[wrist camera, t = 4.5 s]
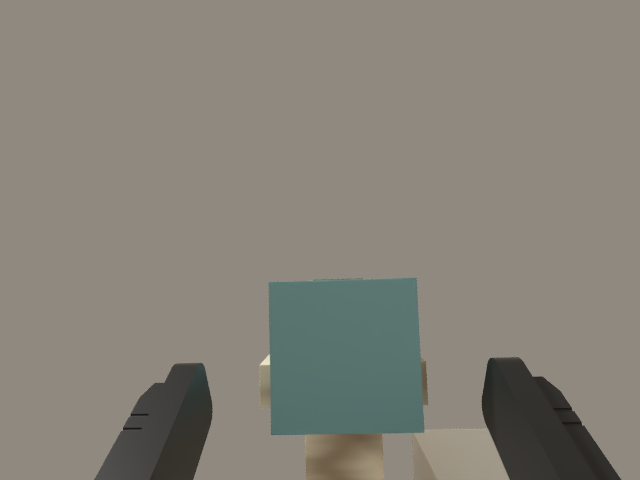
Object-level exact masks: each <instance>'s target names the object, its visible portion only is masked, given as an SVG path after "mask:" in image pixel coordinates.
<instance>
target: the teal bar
mask: <svg viewBox="0 0 640 480" xmlns="http://www.w3.org/2000/svg"><path fill="white" fill-rule="evenodd" d="M269 329H270V395H271V435H308V434H376V433H424V416H423V397H422V377H421V358H420V338H419V319H418V299H417V280H416V278H401V279H400V278H398V279H397V278H396V279H331V280H313V281H291V282H290V281H289V282H269Z"/></svg>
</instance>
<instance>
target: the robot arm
mask: <svg viewBox="0 0 640 480" xmlns="http://www.w3.org/2000/svg"><path fill="white" fill-rule="evenodd" d="M482 411H483V416H484V420H485V423H486V425H487V427H488V430H489V432H490V435H491V437H492V439H493V442H494V444H495V446H496V449H497V451H498V453H499V456H500V458H501V461H502V463H503V465H504V468H505V470H506V472H507V475H508V477H509V479H510V480H621V479H620V477H619V476H618V475H617V473H616V472H615V470H614V469H613V467H612V466H611V464H610V463H609V461H608V460H607V458H606V457H605V456H604V454H603V453H602V451H601V450H600V448H599V447H598V445H597V444H596V442H595V441H594V440H593V438H592V437H591V435H590V434H589V432H588V431H587V429H586V428H585V426H582V423H581V421H580V419H579V418H578V416H577V415H576V413H575V412H574V411H572V408H571V406H570V405H569V403H568V402H567V400H566V399H565V397H564V396H563V394H562V393H561V391H560V390H558V389H557V388H556V387H555V386H553V385H552V384H551V383H550V382H548V381H547V380H546V379H545V378H543V377H532V375H531V373H530V372H529V370H528V369H527V367H526V365H525V364H524V362H523V361H522V360H521V359H520V358H518V357H511V358H490V359H489V361H488V364H487V371H486V377H485V383H484V389H483V395H482ZM211 420H212V401H211V396H210V391H209V386H208V381H207V376H206V372H205V367H204V365H203V364H202V363H184V364H183V363H181V364H175V365H174V366H173V367H172V369H171V371H170V373H169V375H168V377H167V379H166V381H165V383H155V384H153V385H152V386H151V387H150V388H149V389H148V390H147V391H146V392H145V393H144V394H143V395H142V396H141V397H140V398H139V400H138V402H137V404H136V405H135V407H134V409H133V411H132V413H131V416H130V417H129V418H128V420H127V421H126V423H125V425H124V427H123V431H121V432H120V434H119V436H118V438H117V440H116V442H115V443H114V445H113V447H112V449H111V450H110V452H109V454H108V456H107V458H106V460H105V461H104V463H103V465H102V467H101V469H100V471H99V472H98V474H97V476H96V478H95V479H94V480H193V478H194V475H195V472H196V469H197V466H198V463H199V459H200V456H201V453H202V450H203V447H204V444H205V441H206V438H207V434H208V431H209V428H210V425H211Z"/></svg>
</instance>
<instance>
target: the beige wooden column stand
mask: <svg viewBox="0 0 640 480" xmlns="http://www.w3.org/2000/svg"><path fill="white" fill-rule="evenodd" d="M420 358H421V357H420ZM259 367H260V408H271V395H270V354H269V355H268V356H267V357H266V359H265V360H264V361H263V362H262V363H261V364H260V366H259ZM421 377H422V397H423V405H428V394H427V374H426V361H424V360H423V359H422V358H421ZM305 451H306V452H305V455H306V480H384V469H383V444H382V433H376V434H308V435H305Z"/></svg>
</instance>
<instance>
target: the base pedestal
mask: <svg viewBox="0 0 640 480" xmlns="http://www.w3.org/2000/svg"><path fill="white" fill-rule="evenodd" d="M412 443H413V464H414V480H510V479H509V477H508V475H507V472H506V470H505V468H504V465H503V463H502V461H501V458H500V456H499V453H498V451H497V449H496V446H495V444H494V442H493V439H492V437H491V435H490V432H489V430H488V428H486V429H485V428H480V429H424V433H412Z"/></svg>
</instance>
